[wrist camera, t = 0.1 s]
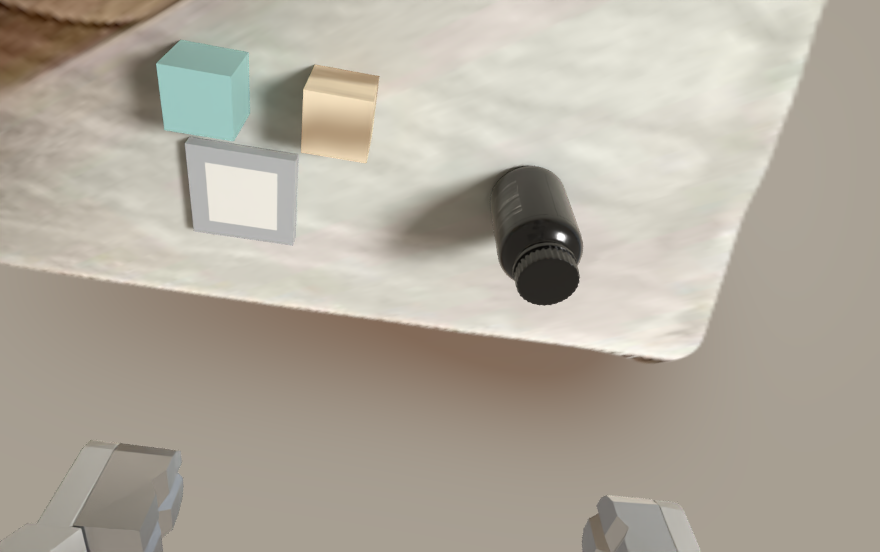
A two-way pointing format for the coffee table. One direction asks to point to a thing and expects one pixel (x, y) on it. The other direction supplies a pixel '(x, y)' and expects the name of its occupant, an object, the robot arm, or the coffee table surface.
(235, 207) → the plate
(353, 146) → the maple cube
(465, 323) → the coffee table surface
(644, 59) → the coffee table surface
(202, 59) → the teal cube
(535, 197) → the supplement bottle
